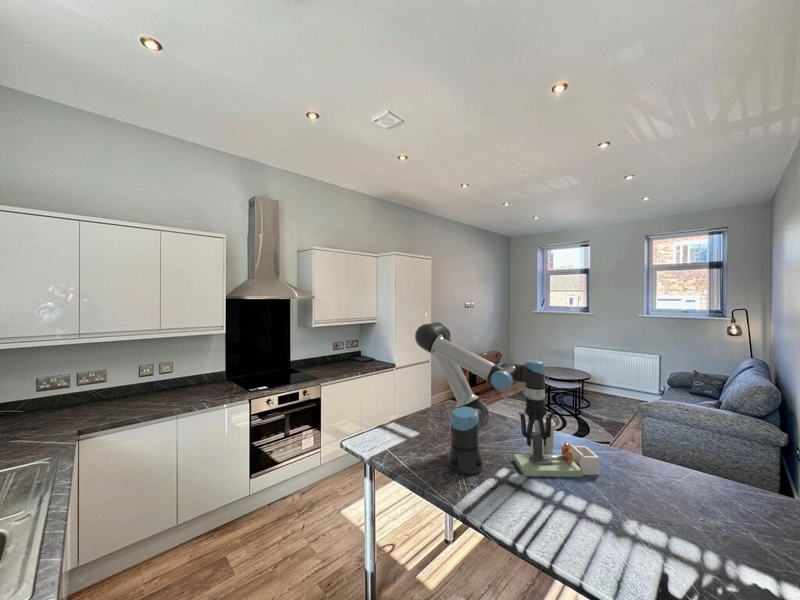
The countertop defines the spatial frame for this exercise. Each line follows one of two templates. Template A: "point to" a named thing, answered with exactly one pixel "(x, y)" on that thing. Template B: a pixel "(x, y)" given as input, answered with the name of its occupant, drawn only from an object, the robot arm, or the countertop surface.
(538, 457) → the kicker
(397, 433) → the countertop surface
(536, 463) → the rail guide
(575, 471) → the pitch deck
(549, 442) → the coffee cup
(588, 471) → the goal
